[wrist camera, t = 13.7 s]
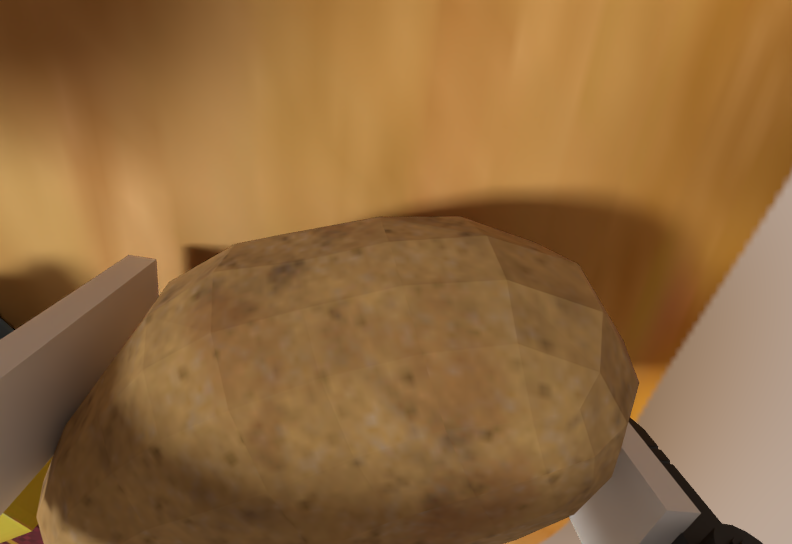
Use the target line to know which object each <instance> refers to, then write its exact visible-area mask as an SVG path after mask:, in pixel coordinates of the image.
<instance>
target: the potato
mask: <svg viewBox="0 0 792 544" xmlns="http://www.w3.org/2000/svg"><path fill="white" fill-rule="evenodd" d="M638 385H639V381H638V378H637V376H636V373H635V370H634V368H633V365H632V362H631V360H630V357H629V354H628V352H627V349H626V346H625V344H624V341H623V339H622V338H621V336H620V334H619V332H618V331H617V329H616V327H615V326H614V324H613V322H612V320H611V319H610V317H609V315H608V314H607V312H606V310H605V308H604V307H603V305H602V303H601V302H600V300H599V298H598V296H597V295H596V293H595V291H594V290H593V288H592V286H591V284H590V283H589V281H588V279H587V278H586V276H585V274H584V272H583V271H582V269H581V267H580V266H579V264H577V263H575V262H573V261H571V260H569V259H567V258H565V257H563V256H561V255H559V254H557V253H555V252H553V251H551V250H549V249H547V248H545V247H543V246H541V245H539V244H538V243H536V242H533V241H530V240H527V239H524V238H521V237H518V236H516V235H513V234H510V233H507V232H504V231H501V230H498V229H495V228H493V227H490V226H487V225H484V224H481V223H478V222H475V221H473V220H470V219H467V218H464V217H461V216H441V217H376V218H370V219H365V220H359V221H354V222H348V223H343V224H337V225H332V226H326V227H321V228H315V229H310V230H304V231H299V232H293V233H288V234H283V235H278V236H273V237H268V238H263V239H257V240H252V241H247V242H242V243H237V244H234V245H233V246H231V247H229V248H227V249H226V250H224V251H222V252H221V253H219V254H217V255H215V256H214V257H212V258H210V259H208V260H207V261H205V262H203V263H201V264H200V265H198V266H196V267H194V268H193V269H191V270H189V271H188V272H186V273H184V274H182V275H181V276H179V277H177V278H175V279H174V280H172V281H170V282H169V283H168V284H167V286H166V287H165V289H164V290H163V291H162V293H161V294H160V295H159V297H158V298H157V300H156V301H155V302H154V304H153V305H152V307H151V308H150V309H149V311H148V312H147V313H146V315H145V316H144V318H143V319H142V320H141V322H140V323H139V325H138V326H137V327H136V329H135V330H134V331H133V333H132V334H131V336H130V337H129V338H128V340H127V341H126V342H125V344H124V345H123V347H122V348H121V349H120V351H119V352H118V354H117V355H116V356H115V358H114V359H113V360H112V362H111V363H110V365H109V366H108V367H107V369H106V370H105V371H104V373H103V374H102V376H101V377H100V378H99V380H98V381H97V383H96V384H95V385H94V387H93V388H92V389H91V391H90V392H89V394H88V395H87V396H86V398H85V399H84V400H83V402H82V403H81V405H80V406H79V407H78V409H77V410H76V411H75V413H74V414H73V416H72V417H71V418H70V420H69V421H68V422H67V424H66V425H65V427H64V429H63V432H62V434H61V437H60V439H59V442H58V445H57V447H56V450H55V452H54V455H53V458H52V460H51V463H50V465H49V468H48V471H47V473H46V476H45V478H44V481H43V485H42V490H41V496H40V501H39V506H38V511H37V516H36V518H37V521H38V525H39V528H40V532H41V535H42V539H43V543H44V544H503V543H507V542H510V541H514V540H517V539H519V538H521V537H524V536H526V535H528V534H530V533H533V532H535V531H537V530H540V529H542V528H544V527H547V526H549V525H551V524H553V523H556V522H558V521H560V520H563V519H565V518H567V517H570V516H572V515H574V514H575V513H576V512H577V511H578V510H579V509H580V508H581V507H582V506H583V505H584V504H585V503H586V502H587V501H588V500H589V499H590V498H591V497H592V496H593V495H594V494H595V493H596V492H597V491H598V490H599V489H600V488H601V487H602V486H603V485H604V484H605V483H606V482H607V481H608V480H609V479H610V478H611V477H612V475H613V472H614V469H615V466H616V463H617V460H618V457H619V454H620V451H621V447H622V443H623V440H624V436H625V433H626V429H627V425H628V422H629V418H630V414H631V411H632V407H633V404H634V400H635V396H636V393H637V389H638Z"/></svg>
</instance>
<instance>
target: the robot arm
mask: <svg viewBox="0 0 792 544" xmlns="http://www.w3.org/2000/svg"><path fill="white" fill-rule="evenodd" d="M158 297H159V294H158V278H157V261H156V259H152V258H145V257H139V256H133V255H128V256H126V257H125V258H123V259H122V260H120V261H119V262H117V263H116V264H114V265H113V266H111V267H110V268H108V269H107V270H105V271H104V272H102V273H101V274H99V275H98V276H96V277H95V278H93V279H92V280H90V281H89V282H87V283H85V284H84V285H82V286H81V287H79V288H78V289H76V290H75V291H73V292H72V293H70V294H69V295H67V296H66V297H64V298H63V299H61V300H60V301H58V302H57V303H55V304H54V305H52V306H51V307H49V308H48V309H46V310H45V311H43V312H41V313H40V314H38V315H37V316H35V317H34V318H32V319H31V320H29V321H28V322H26V323H25V324H23V325H22V326H20V327H19V328H17V329H16V330H14V331H13V332H11V333H10V334H8V335H7V336H5V337H4V338H2V339H1V338H0V516H1V515H2V513H3V512H4V511H5V510H6V509H7V508H8V507H9V506H10V504H11V503H12V502H13V501H14V500H15V499H16V498H17V496H18V495H19V494H20V493H21V492H22V491H23V490H24V488H25V487H26V486H27V485H28V484H29V483H30V482H31V481H32V479H33V478H34V477H35V476H36V475H37V474H38V473H39V471H40V470H41V469H42V468H43V467H44V466H45V465H46V463H47V462H48V461H49V460H50V459H51V458H52V457H53V455H54V452H55V450H56V447H57V445H58V442H59V439H60V437H61V434H62V432H63V429H64V427H65V425H66V424H67V422H68V421H69V420H70V418H71V417H72V416H73V414H74V413H75V411H76V410H77V409H78V407H79V406H80V405H81V403H82V402H83V400H84V399H85V398H86V396H87V395H88V394H89V392H90V391H91V389H92V388H93V387H94V385H95V384H96V383H97V381H98V380H99V378H100V377H101V376H102V374H103V373H104V371H105V370H106V369H107V367H108V366H109V365H110V363H111V362H112V360H113V359H114V358H115V356H116V355H117V354H118V352H119V351H120V349H121V348H122V347H123V345H124V344H125V342H126V341H127V340H128V338H129V337H130V336H131V334H132V333H133V331H134V330H135V329H136V327H137V326H138V325H139V323H140V322H141V320H142V319H143V318H144V316H145V315H146V313H147V312H148V311H149V309H150V308H151V307H152V305H153V304H154V302H155V301H156V300H157V298H158ZM569 518H570V520H571V522H572V524H573V526H574V528H575V531H576V533H577V535H578V537H579V539H580V541H581V543H582V544H762V543H761V542H760V541H759V540H757V539H756V538H755V537H753V536H752V535H750V534H748V533H747V532H745V531H743V530H741V529H739V528H737V527H735V526H733V525H727V524H722V523H721V522H720V521H719V520H718V518H716V516H715V515H714V514H713V512H712V511H711V510H710V509H709V508H708V506H707V505H706V504H705V503H704V501H703V500H702V499H701V498H700V497H699V495H698V494H697V493H696V492H695V491H694V489H693V488H692V487H691V486H690V485H689V483H688V482H687V481H686V480H685V478H684V477H683V476H682V475H681V474H680V472H679V471H678V470H677V469H676V468H675V466H674V465H672V464H670V460H669V459H668V458H667V457H666V455H665V454H664V453H663V452H662V451H661V450H659V449H658V446H657V444H656V443H655V442H654V441H653V440H652V438H650V436H649V435H648V434H647V432H646V431H645V430H644V429H643V428H642V427H641V426H639V425H638V424H637V423H636V422H635V421H634V420H632V419H631V418H629V422H628V425H627V429H626V433H625V436H624V440H623V443H622V447H621V451H620V454H619V457H618V460H617V463H616V466H615V469H614V472H613V475H612V477H611V478H610V479H609V480H608V481H607V482H606V483H605V484H604V485H603V486H602V487H601V488H600V489H599V490H598V491H597V492H596V493H595V494H594V495H593V496H592V497H591V498H590V499H589V500H588V501H587V502H586V503H585V504H584V505H583V506H582V507H581V508H580V509H579V510H578V511H577V512H576V513H575V514H574V515H572V516H570V517H569Z"/></svg>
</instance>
